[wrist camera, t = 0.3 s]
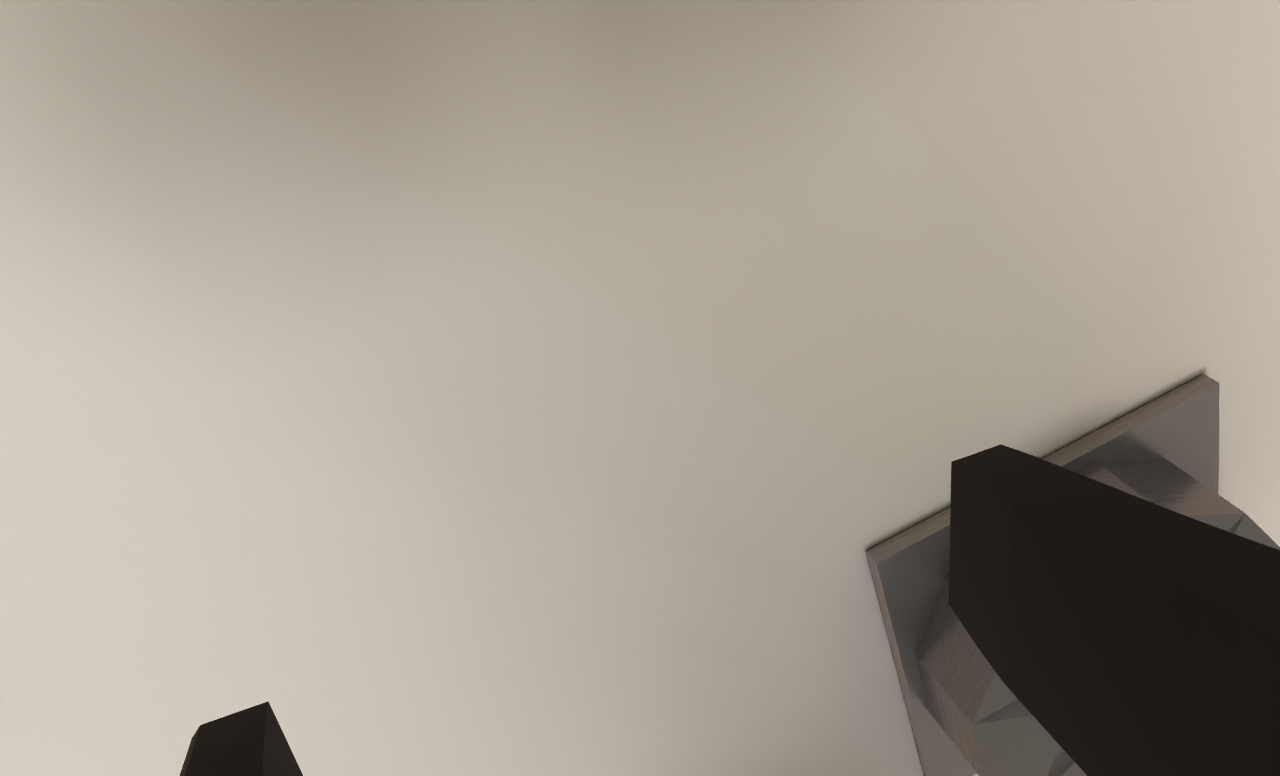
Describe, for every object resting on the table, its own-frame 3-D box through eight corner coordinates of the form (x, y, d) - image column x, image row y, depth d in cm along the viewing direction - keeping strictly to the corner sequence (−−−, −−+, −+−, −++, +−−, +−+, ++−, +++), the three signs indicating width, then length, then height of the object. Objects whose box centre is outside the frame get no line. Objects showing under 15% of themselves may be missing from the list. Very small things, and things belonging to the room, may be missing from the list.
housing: (1204, 626, 32) (1285, 695, 30) (926, 782, 31) (987, 866, 29) (1203, 373, 27) (1304, 431, 24) (865, 551, 26) (935, 631, 23)
